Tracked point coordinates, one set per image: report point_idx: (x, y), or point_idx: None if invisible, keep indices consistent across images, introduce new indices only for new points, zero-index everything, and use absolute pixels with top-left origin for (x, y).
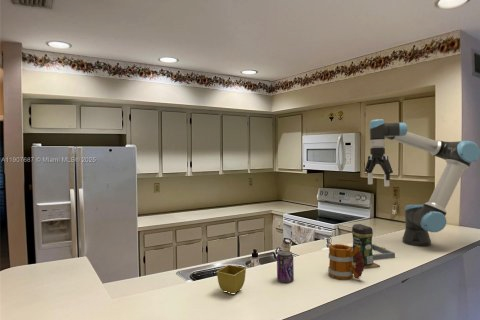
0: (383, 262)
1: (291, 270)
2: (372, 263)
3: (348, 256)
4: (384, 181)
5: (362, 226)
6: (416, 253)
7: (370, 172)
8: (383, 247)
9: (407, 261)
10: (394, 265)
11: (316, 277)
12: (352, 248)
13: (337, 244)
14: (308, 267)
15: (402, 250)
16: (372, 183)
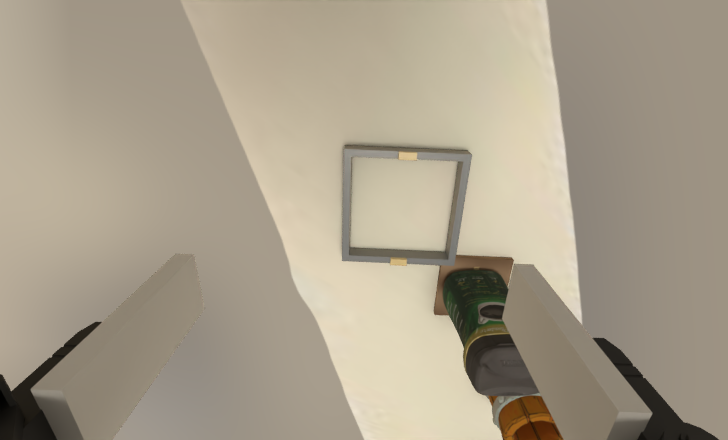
0: (485, 220)
1: None
2: (490, 267)
3: None
4: (532, 366)
5: (528, 388)
6: (464, 18)
7: (33, 427)
8: (409, 155)
9: (517, 138)
10: (523, 208)
11: (491, 413)
12: (365, 256)
13: (510, 430)
14: (428, 402)
15: (407, 45)
16: (189, 264)
